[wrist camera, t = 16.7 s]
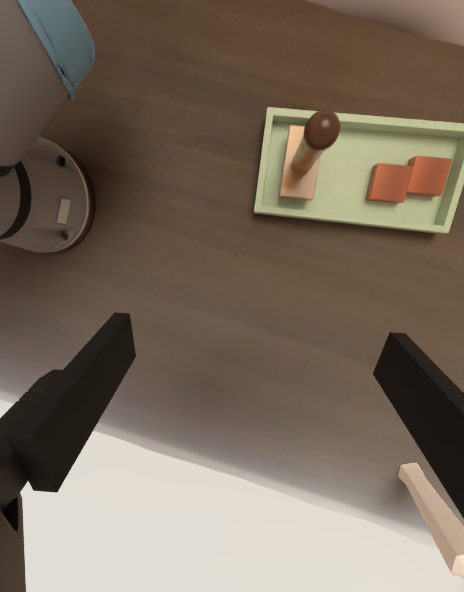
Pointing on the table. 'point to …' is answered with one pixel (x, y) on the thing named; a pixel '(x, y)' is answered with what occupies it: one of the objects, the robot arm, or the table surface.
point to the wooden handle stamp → (307, 154)
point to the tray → (363, 171)
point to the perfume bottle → (436, 517)
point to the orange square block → (428, 176)
